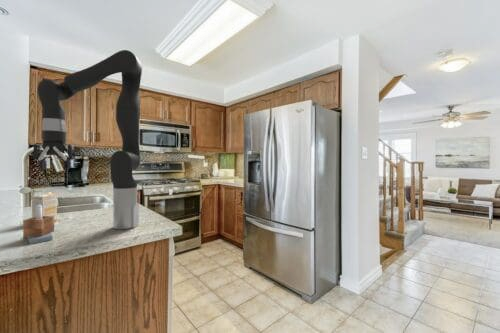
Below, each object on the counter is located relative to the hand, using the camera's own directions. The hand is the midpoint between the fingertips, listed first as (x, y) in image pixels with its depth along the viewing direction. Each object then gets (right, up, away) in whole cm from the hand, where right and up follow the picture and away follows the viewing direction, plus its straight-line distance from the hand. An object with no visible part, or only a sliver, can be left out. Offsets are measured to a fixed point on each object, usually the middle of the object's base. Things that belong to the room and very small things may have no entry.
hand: (54, 169), depth 95 cm
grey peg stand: (+3, -25, -10) cm, 27 cm away
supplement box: (-12, -25, +9) cm, 29 cm away
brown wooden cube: (+3, -24, -10) cm, 26 cm away
